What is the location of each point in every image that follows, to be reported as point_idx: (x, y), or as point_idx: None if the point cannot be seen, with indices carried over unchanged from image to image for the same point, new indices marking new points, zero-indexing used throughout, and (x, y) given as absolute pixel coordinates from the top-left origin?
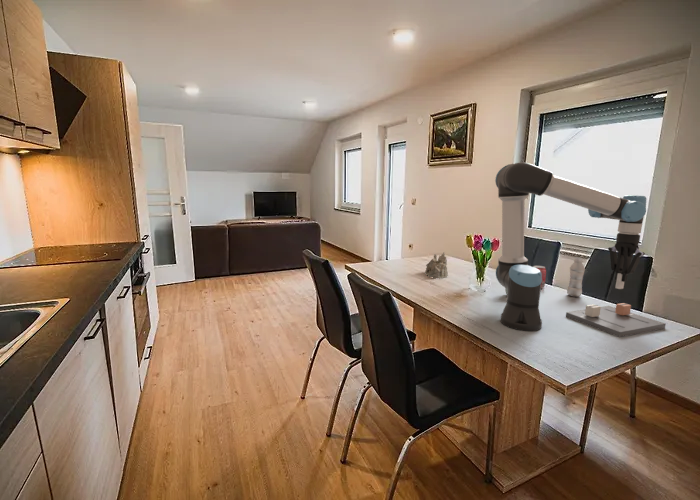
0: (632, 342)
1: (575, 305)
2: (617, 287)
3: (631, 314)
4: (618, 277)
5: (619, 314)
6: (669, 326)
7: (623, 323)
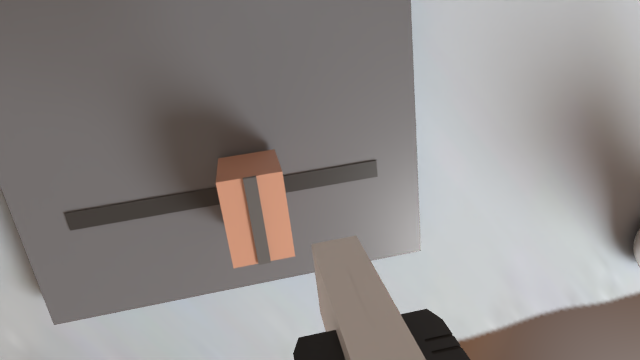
0: None
1: (539, 91)
2: (333, 247)
3: None
4: (386, 337)
5: None
6: (96, 353)
7: (66, 13)
